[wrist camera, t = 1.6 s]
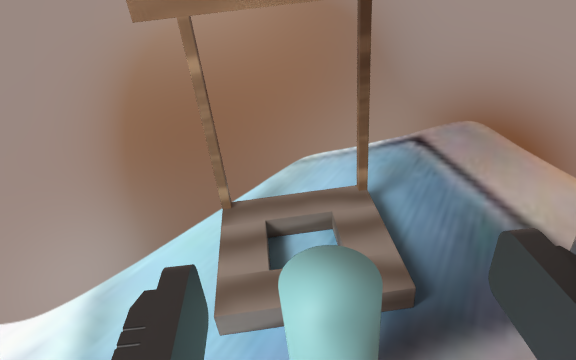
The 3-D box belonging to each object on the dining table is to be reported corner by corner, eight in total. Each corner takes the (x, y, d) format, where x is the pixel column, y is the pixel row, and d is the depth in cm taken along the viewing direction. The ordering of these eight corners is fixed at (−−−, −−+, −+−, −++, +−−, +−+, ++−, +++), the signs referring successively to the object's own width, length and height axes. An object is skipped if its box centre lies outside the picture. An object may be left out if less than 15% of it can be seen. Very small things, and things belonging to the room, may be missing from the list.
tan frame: (413, 307, 33) (460, -47, 18) (219, 335, 32) (111, -6, 18) (363, 200, 46) (368, -51, 32) (227, 218, 46) (169, -29, 31)
